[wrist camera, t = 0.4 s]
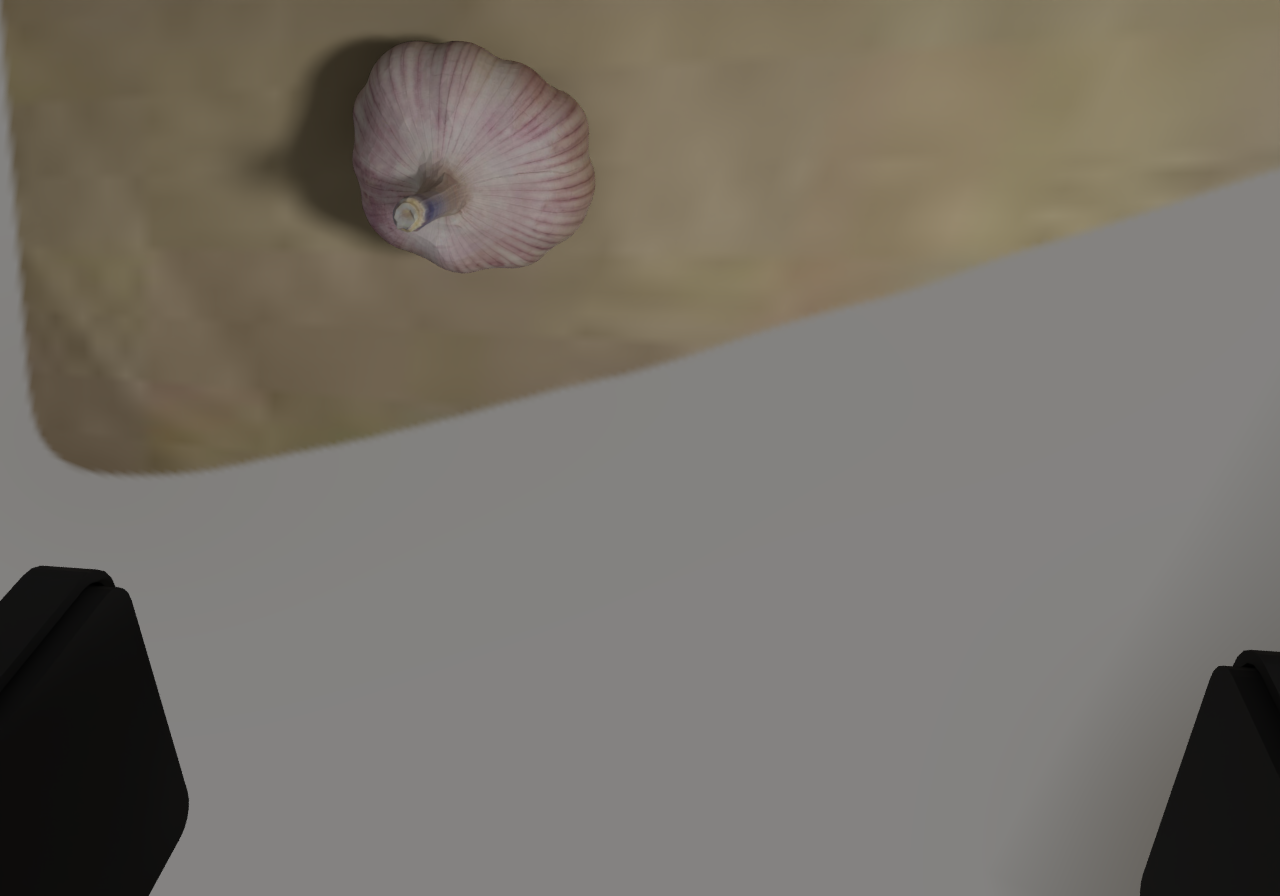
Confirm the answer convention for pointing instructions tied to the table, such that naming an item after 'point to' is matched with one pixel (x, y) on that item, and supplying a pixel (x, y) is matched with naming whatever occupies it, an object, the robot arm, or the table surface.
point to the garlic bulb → (469, 157)
